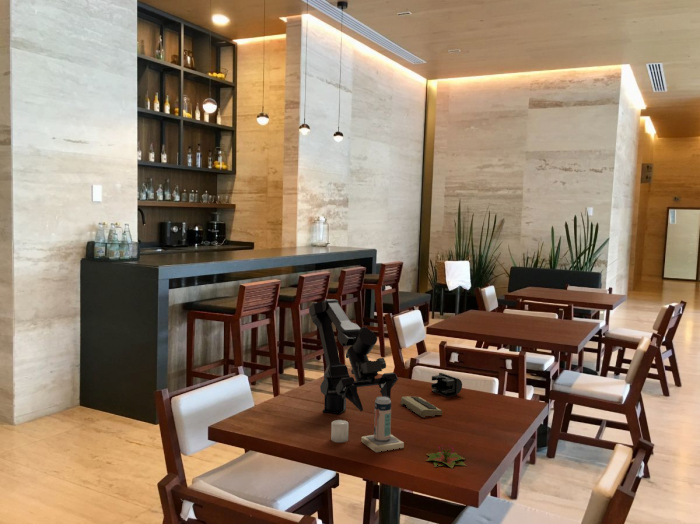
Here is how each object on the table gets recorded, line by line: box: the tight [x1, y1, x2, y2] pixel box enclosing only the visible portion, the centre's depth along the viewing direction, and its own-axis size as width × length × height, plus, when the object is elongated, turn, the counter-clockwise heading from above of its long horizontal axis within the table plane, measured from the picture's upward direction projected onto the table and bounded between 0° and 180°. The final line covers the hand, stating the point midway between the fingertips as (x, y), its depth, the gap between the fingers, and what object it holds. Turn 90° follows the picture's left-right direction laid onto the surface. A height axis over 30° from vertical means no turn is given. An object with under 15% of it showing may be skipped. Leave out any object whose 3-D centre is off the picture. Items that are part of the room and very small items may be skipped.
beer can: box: [373, 395, 392, 441], centre depth 175 cm, size 5×5×12 cm
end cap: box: [430, 372, 463, 398], centre depth 230 cm, size 10×7×7 cm
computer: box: [400, 395, 443, 418], centre depth 209 cm, size 16×8×3 cm, turn 21°
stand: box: [360, 434, 405, 453], centre depth 176 cm, size 9×9×2 cm
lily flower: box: [425, 444, 468, 470], centre depth 165 cm, size 12×12×5 cm
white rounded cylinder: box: [330, 419, 349, 443], centre depth 179 cm, size 5×5×5 cm
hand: (375, 408), depth 179 cm, fingers open, 9 cm apart
